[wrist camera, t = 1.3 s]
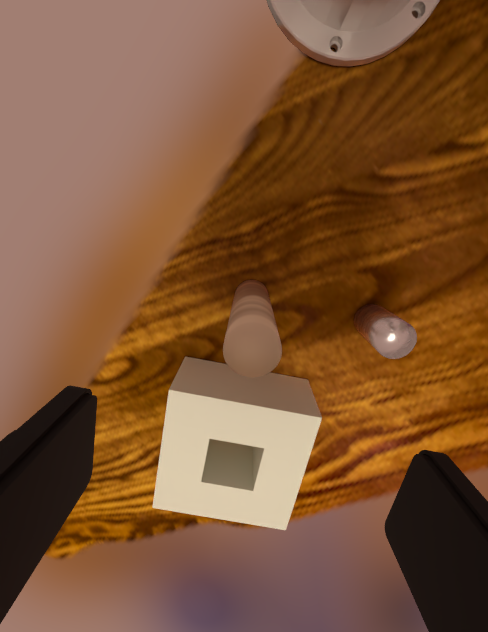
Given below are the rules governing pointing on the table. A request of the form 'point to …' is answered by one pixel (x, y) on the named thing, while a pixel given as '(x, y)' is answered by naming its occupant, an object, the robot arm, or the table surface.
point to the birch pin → (252, 332)
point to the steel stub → (385, 331)
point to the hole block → (235, 444)
